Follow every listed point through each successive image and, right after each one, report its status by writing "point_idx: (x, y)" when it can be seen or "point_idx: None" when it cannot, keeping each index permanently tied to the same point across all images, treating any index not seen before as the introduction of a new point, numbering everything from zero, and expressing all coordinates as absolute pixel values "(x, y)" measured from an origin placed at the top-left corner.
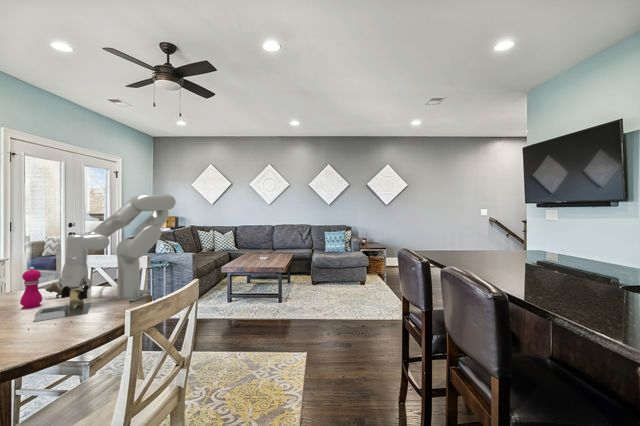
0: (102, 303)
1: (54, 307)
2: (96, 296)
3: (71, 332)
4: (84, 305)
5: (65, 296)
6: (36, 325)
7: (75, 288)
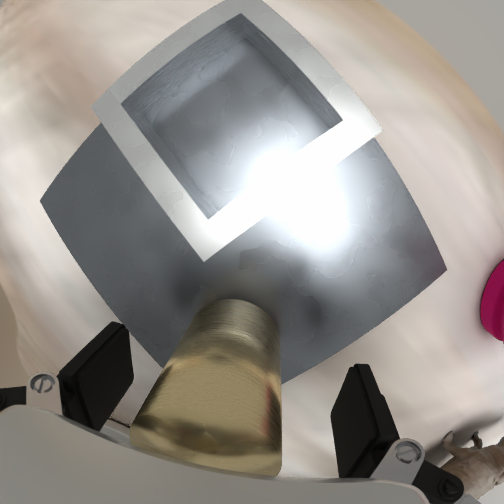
0: None
1: (276, 175)
2: None
3: (22, 46)
4: None
5: (344, 392)
6: None
7: None
